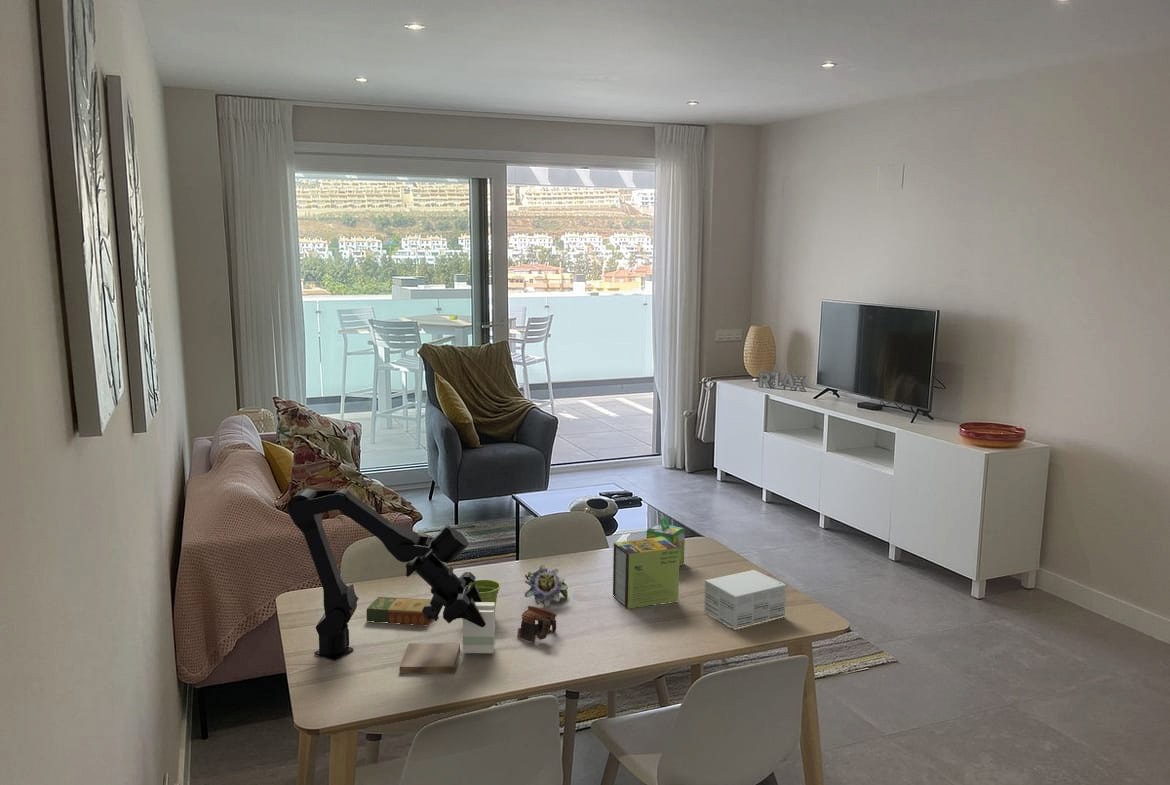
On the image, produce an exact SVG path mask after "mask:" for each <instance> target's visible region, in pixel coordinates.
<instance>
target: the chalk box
mask: <svg viewBox="0 0 1170 785" xmlns="http://www.w3.org/2000/svg"><path fill="white" fill-rule="evenodd" d="M659 520H660V523H658V524H655V525H653V526H652V527H649V528H648V529H646V539H648V538H656V537H664V538H665V539H667V540H668V541H670V542H672V543H673V544H675V545H676V546H678V547H679V548H680V552H679V567H681V566H682V565H684V564H685V548H686V547H685V546H686V544H685V543H686V540H685V539H686V538H685V537H686V528H685V527H680V526H676V525H673V524H669V519H668V516H667V515H666V516H664V517H662V518H661V519H659ZM664 522H665V524H664ZM683 563H684V564H683ZM681 564H682V565H681ZM680 565H681V566H680Z"/></svg>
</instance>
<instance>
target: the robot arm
mask: <svg viewBox="0 0 1170 785" xmlns="http://www.w3.org/2000/svg"><path fill="white" fill-rule="evenodd" d="M286 511H287V513H288V514H289V517H290V519H291V520H292V522H293V524H294V525H295V526H296V527H297V528H298V530H299V531H300V532H301V533H302V535H303V536H304V539H305V543H306V545H307V548H308V551H309V554H310V556H311V559H312V562H313V564H314V569H315V570H316V573H317V576H318V578H319V582H320V585H321V587H322V590H323V610H324V614H323V615H322V617H320V620H319V621H318V623H317V624H316V625H315V631H316V632H317V635H318V649H317V650H316V651H314V654H313V655H314V656H317V657H320V658H325V659H327V660H330V661H331V660H332V661H336V660H338V659H340V658H342V657H344V656H346V655H348V654H350V653H351V652H353V651H354V647H352V646H350V629H349V624H348V623H349V622H350V620H351V619H352V616H353V615H354V613H355V612H356V610H357V607H358V604H357V603H358V601H359V599H360V598H359V597H358V596H357V595H356V592H355V587H354V583H353V584H350V585H348V586H347V584H346V583H345V582H344V581H343V579H342V576H341V574H340V571H339V569H338V564H337V563H336V560H335V557H334V554H333V551H332V549H331V545H330V543H329V540H328V538H327V535H326V532H325V529H324V525H323V513H327V512H332V511H340V513H343V514H344V515H345V516H347V517H348V518H349V519H350V520H352V521H354V522H355V523H356V524H358V525H359V526H360V527H362V528H364V529H365V530H366V531H368V532H369V533H370V534H372V536H374V537H376V538H378V539H379V540H380V542H381V543H382V544H383V546H384V547H385V549H386V550H387V552H389V553H390V554H391V555H392V556H393V557H394V558H395V559H396V560H397V561H399V562H401V563H406V564H405V568H406V572H405V576H406V577H407V578H409V577H410V576H411V575H412V574H413V573H414V572H415V573H416V574H417V575H418V576H419V577H420V578H421V579H422V580H424V582H425V583H426V584H427V585H429V586H430V587H431V588H430V593H431V594H432V597H431V599H430V600H431V601H430V603H429V604H425V606H424V608H423V610H422V613H423V614H424V617H426V618H427V620H431V619H432V620H433V621H435V622H437V620H438V619H439V615H440V613H441V610H442V608H443V607H444V608H443V611H442V618H443V619H444V620H445V621H446V623H448V624H451V623H452V622H453V621H456V620H458V619H462V620H463V619H466V620H468V621H470V622H472V623H474V624H476V625H478V626H480V627H484V626H485V625H486V623H485V621H484V619H483V617H482V616H481V614H480V612H479V610H478V608H477V606H476V604H475V602H483V601H482V599H481V596H480V593H479V591H478V588H477V584H476V583H474V584H473V585H472V586H470V585H468V584H469V583H470V582H474V581H475V580H476V578H477V577H476V576H475V574H473V573H472V572H471V571H464V572H463V573H462V574H461V576H459V577H458V576H457V575H456V574H455V573H454V568H453V567H452V566H449V567H448V566H447V565H446V563H447V562H448V563H452V562H453V561H454V560H455V559H456V558H457V557H458V556H460V554H462V553H463V551H465V549H467V547H469V542H468V540H467V538H466V537H465V535H463V533H462V532H460V531H459V530H457V529H456V528H453V527H451V526H450V525H448V524H446V526H444V527H443V528H442V530H441V531H440V532H439V533H438V534H437V535H436V536H435V537H434V536H427V535H420V534H418V533H417V532H415V531H414V530H412V529H411V528H408V527H406V526H403V525H401V524H400V525H399V524H395V523H394V522H391V521H390V520H388V519H387V518H386V517H384V516H383V515H381V514H380V513H379V512H377V511H376V510H375V509H374V508H372V507H371V506H369V505H367V504H366V503H365V502H364V501H362V500H361V499H359V498H358V497H357V496H355V495H354V494H353V493H351V491H350V490H349V489H346V488H339V489H320V490H319V489H318V490H317V489H316V490H314V489H312V488H303V489H301V490H299V491H298V492H297V493H295V495H293V496H292V497H291V498H290V499H289V500H288V502H287V504H286ZM467 585H468V586H467ZM432 620H431V621H432Z"/></svg>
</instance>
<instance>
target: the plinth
mask: <svg viewBox="0 0 1170 785" xmlns="http://www.w3.org/2000/svg"><path fill="white" fill-rule="evenodd" d="M460 651H461V643H460V642H459V643H456V642H455V643H451V642H450V643H447V642H446V643H445V642H443V643H441V642H440V643H435V642H431V643H429V642H428V643H427V642H426V643H425V642H424V643H421V642H417V643H416V642H415V643H414V642H412V643H410V642H408V644H407V647H406V650H405V652H404V654H403V656H402V659H401V662H400V664H399V674H454V673H455V671H456V670H455V669H456V666H457V662H458V658H459V655H460Z"/></svg>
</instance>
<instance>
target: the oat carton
mask: <svg viewBox="0 0 1170 785" xmlns="http://www.w3.org/2000/svg"><path fill="white" fill-rule="evenodd" d="M475 604H476V606H477V608H478V610H479V612H480V614H481V616H482V617H483V619H484V621H485V623H486V625H485V626H484V627H480V626H478V625H476V624H474V623H472V622H470V621H468V620H466V619H463V618H462V654H494V651H495V645H496V607H495V602H475Z"/></svg>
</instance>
